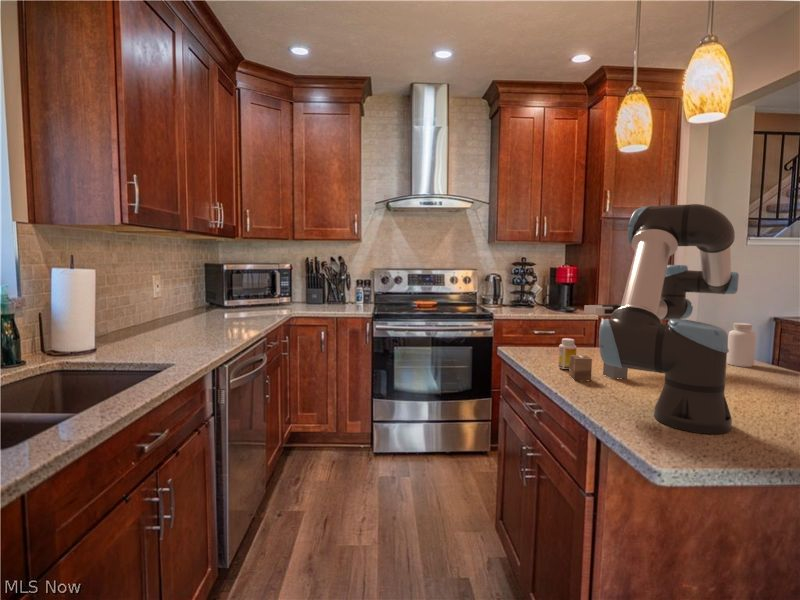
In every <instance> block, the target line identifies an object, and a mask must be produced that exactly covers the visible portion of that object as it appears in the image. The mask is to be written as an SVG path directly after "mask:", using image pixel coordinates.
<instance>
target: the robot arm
mask: <svg viewBox="0 0 800 600" xmlns="http://www.w3.org/2000/svg"><path fill="white" fill-rule="evenodd" d="M627 242H628V245H629V246H630V247H632V249H633V251H634V255H633V258H632V262H631V266H630V269H629V274H628V276H627V281H626V284H625V289H624V293H623V295H622V296H623V297H622V299H621V300H622V301H621V303H617V304H616V303H615V304H593V305H592V304H589V305H586V304H585V305H584V309H583V314H594V316H611V317H610V319H609V318H604V319H602V320H601V322H600V323H599V331H598V332H599V333H598V342H599V343H598V348H599V353H600V357H601V360H602V362H603V364H604V363H605V364H607V365H611V366H616V367H619V368H628V370H629V369H630V370H631V369H632V370H636V371H644V372H651V373H656V374H663V375H664V385H663V388H662V390H661V393H660V394H659V397H658V398H657V401H656V403H655V405H654V410H653V411H654V412H653V417H654V419H655V420H656V421H658V422H659V423H661V424H664V425H665V426H669V427H672V428H675V429H678V430H682V431H687V432H691V433H692V432H693V433H698V434H708V435H712V434H713V435H717V434H721V435H722V434H726V433H729V432H731V430H732V425H733V424H732V423H733V421H732V420H733V419H732V416H731V412H730V409H729V404H728V403H727V402H728V401H727V399H726V396H725V389H726V388H725V386H726V373H727V363H726V362H727V353H728V352H729V349H728V333H727V331H726V330H725V329H723V328H721V327H720V326H716V325H713V324H709V323H706V322H705V323H704V322H702V321H697V320H691V319H690V320H689V319H687V318H689V317H690V316H691V315H692V313H693V309H694V307H693V305H692V302H691V301H690V300H689V299H688V298H686V296H687V295H686V294H687V293H696V294H697V293H698V294H713V295H715V294H716V295H735V294H736V293H737V292H738V288H739V287H738V286H739V276H740V275H739V272H736V271H731V269H732V268H731V265H732V263H731V261H732V260H731V259H732V258H731V247H732V245H733V243H734V242H735V228H734V226H733V223H732V222H731V220H730V219H729V218H728V217H727V216H726V215H725V214H724V213H722V212H720V211H719V210H717V209H715V208H714V207H711V206H709V205H705V204H701V203H700V204H698V203H692V204H675V205H674V204H672V205H671V204H670V205H649V206H642V207H639V208H637V209H635V210H634V211H633V212H632V215H631V217H630V219H629V222H628V228H627ZM678 247H696V248H697V250H699V256H700V257H699V258H700V262H701V270H689V269H688V268H689V267H688V265H685V264H669V260H670V257H671V256H673V255H674V254H675V253H676V251H677V250H678ZM662 320H663V321H664V320H668V322H667V324H664V323H662Z"/></svg>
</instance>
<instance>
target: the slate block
mask: <svg viewBox="0 0 800 600" xmlns="http://www.w3.org/2000/svg"><path fill="white" fill-rule="evenodd" d="M602 370H603V371H602V376H603V375H606V376H608V377H610V378H612V379H611V380H613V379H617V378H627V379H628V370H629V368H619V367H616V366H611V365H607V364H605V363H604V362H603V369H602ZM608 377H607V378H608ZM610 378H609V379H610Z"/></svg>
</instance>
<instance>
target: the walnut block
mask: <svg viewBox="0 0 800 600" xmlns="http://www.w3.org/2000/svg"><path fill="white" fill-rule="evenodd" d="M592 364H593V358H591V357H589V356H588V355H583V354H582V355H580V354H579V355H577V354H576V355H570V370H568V372H569V373H568V374H569V375H568V376H571V377H572V378H573V379H574V380H591V381H592V368H593V367H592V366H593V365H592ZM573 379H572V380H573ZM574 380H573V381H574Z"/></svg>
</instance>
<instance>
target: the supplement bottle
mask: <svg viewBox="0 0 800 600" xmlns="http://www.w3.org/2000/svg"><path fill="white" fill-rule="evenodd" d="M570 355H577V345H575V339H573V338H570V337H567V338H566V337H564V338H562V339H561V343H560V344H559V346H558V369H560V368H562V369H570ZM562 369H561V370H562Z"/></svg>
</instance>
